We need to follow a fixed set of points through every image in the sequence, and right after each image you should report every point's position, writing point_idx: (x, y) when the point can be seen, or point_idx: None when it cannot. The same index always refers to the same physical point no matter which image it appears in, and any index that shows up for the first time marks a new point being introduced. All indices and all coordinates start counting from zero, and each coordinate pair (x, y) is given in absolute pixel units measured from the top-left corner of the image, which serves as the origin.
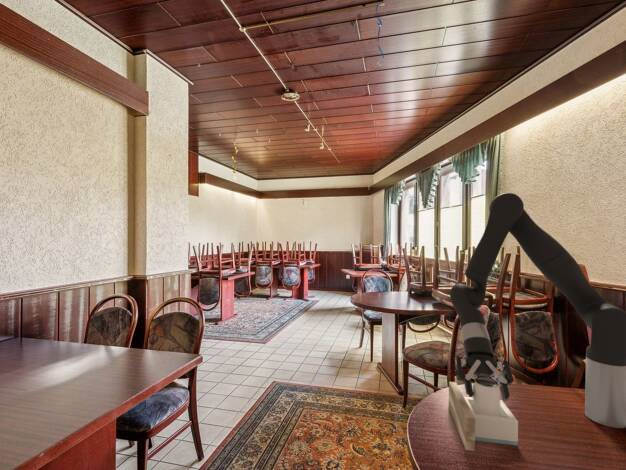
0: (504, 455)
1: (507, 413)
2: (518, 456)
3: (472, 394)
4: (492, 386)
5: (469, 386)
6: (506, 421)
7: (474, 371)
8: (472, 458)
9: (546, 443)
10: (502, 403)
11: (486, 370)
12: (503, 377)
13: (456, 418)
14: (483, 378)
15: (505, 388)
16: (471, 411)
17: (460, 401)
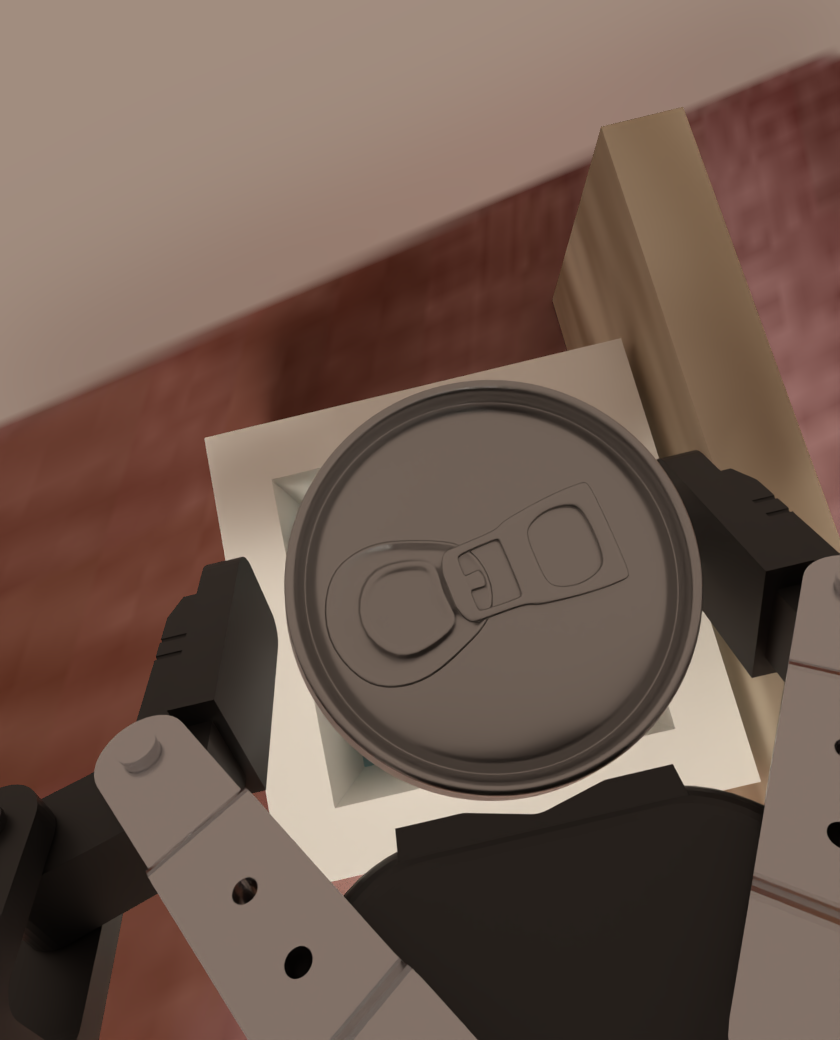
0: (372, 339)
1: (273, 570)
2: (288, 368)
3: (668, 456)
4: (396, 471)
5: (750, 503)
6: (307, 416)
7: (792, 706)
8: (564, 222)
9: (66, 616)
10: (288, 800)
11: (490, 890)
12: (126, 825)
13: None
14: (539, 772)
15: (187, 650)
16: (640, 246)
17: (773, 420)
